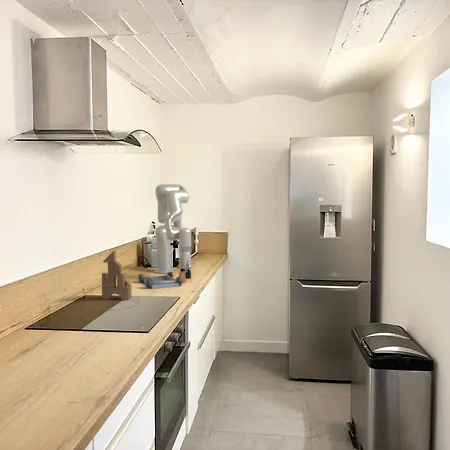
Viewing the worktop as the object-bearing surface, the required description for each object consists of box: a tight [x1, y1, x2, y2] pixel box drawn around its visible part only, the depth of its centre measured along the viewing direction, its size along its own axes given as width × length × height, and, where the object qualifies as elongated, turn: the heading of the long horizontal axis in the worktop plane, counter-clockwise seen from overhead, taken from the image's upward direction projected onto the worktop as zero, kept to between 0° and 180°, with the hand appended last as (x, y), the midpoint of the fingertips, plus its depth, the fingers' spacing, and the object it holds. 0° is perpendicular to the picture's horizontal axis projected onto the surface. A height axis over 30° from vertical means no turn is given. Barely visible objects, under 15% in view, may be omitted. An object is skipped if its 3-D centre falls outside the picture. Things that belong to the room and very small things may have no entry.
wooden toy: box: [101, 250, 133, 301], centre depth 240 cm, size 16×7×25 cm, turn 83°
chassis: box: [138, 272, 183, 290], centre depth 278 cm, size 24×20×5 cm
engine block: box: [178, 271, 193, 284], centre depth 285 cm, size 5×7×6 cm
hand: (185, 277), depth 284 cm, fingers open, 9 cm apart
